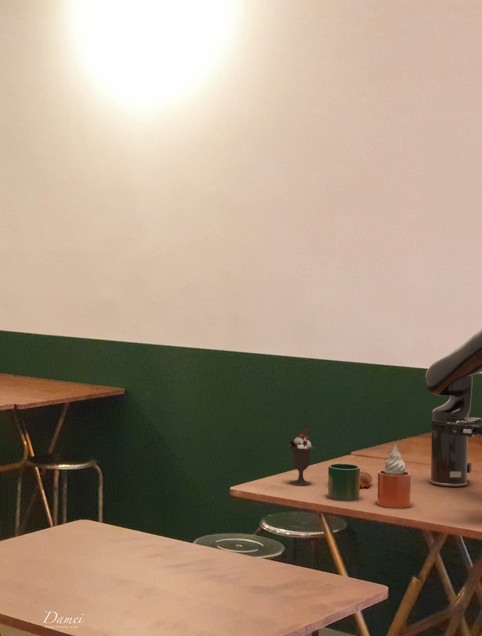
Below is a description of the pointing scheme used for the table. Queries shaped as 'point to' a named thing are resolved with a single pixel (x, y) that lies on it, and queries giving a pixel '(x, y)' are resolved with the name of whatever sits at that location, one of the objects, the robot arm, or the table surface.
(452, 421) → the robot arm
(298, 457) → the sundae
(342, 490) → the stand
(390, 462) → the ice cream cone
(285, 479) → the table surface
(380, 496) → the cup
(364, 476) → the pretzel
